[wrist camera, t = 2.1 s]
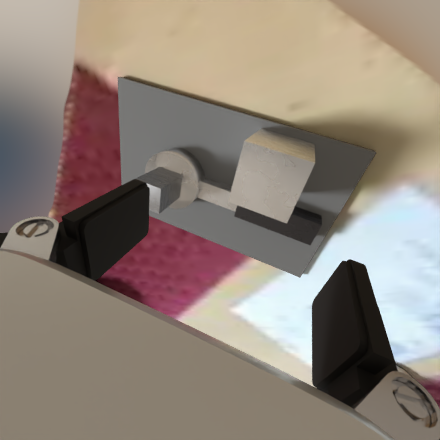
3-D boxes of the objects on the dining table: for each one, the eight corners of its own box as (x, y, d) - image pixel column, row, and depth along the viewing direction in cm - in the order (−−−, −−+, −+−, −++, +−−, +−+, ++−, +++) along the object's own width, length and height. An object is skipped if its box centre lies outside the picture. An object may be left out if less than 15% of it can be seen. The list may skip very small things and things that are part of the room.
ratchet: (330, 199, 24) (336, 233, 18) (303, 248, 27) (300, 288, 22) (157, 140, 27) (117, 153, 22) (154, 190, 31) (119, 212, 25)
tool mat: (374, 150, 21) (376, 152, 20) (300, 273, 30) (300, 277, 30) (122, 77, 26) (117, 77, 25) (126, 202, 35) (122, 204, 35)
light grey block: (314, 144, 22) (315, 163, 16) (292, 192, 25) (286, 223, 19) (261, 128, 23) (244, 140, 17) (246, 177, 26) (227, 201, 20)
